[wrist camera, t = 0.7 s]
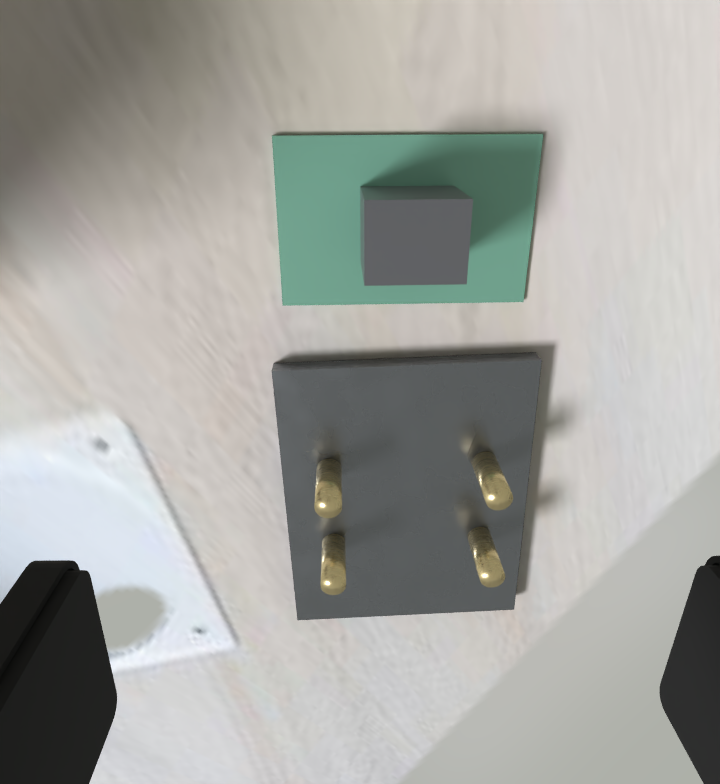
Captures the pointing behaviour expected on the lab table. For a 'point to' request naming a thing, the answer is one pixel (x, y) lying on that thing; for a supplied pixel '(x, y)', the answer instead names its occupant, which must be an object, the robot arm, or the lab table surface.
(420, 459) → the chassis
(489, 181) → the circuit board
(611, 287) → the lab table surface
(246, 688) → the lab table surface
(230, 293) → the lab table surface
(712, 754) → the robot arm
